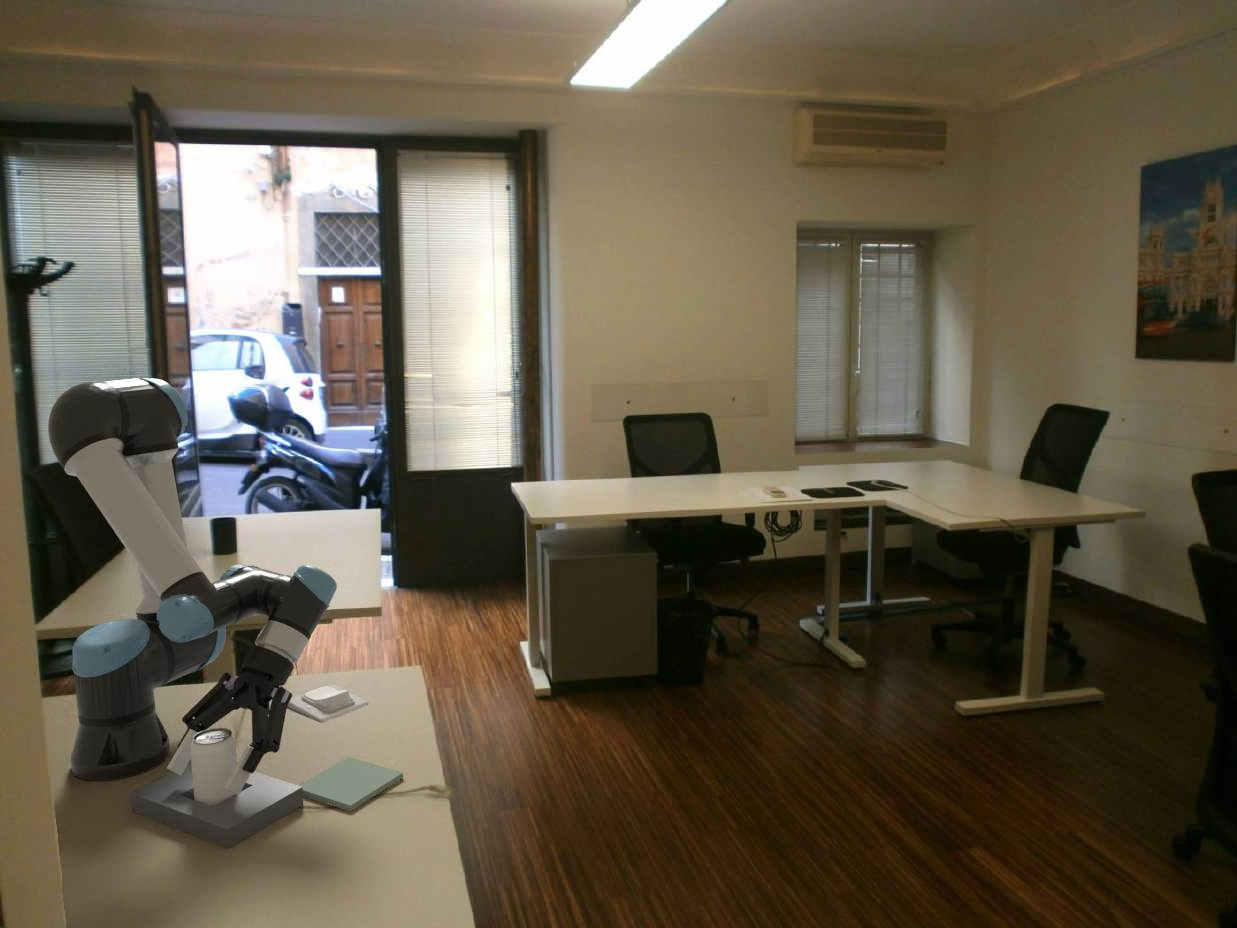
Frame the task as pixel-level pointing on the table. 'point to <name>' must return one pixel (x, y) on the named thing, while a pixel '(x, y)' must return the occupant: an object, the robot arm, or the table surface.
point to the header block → (217, 806)
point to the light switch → (326, 703)
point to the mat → (349, 783)
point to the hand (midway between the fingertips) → (201, 781)
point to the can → (212, 765)
